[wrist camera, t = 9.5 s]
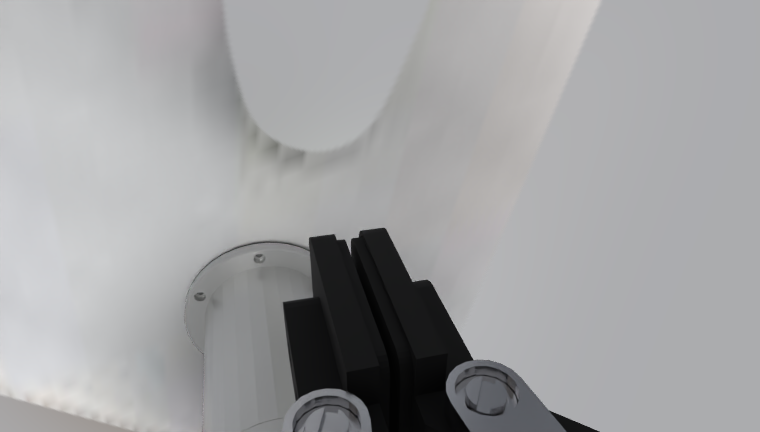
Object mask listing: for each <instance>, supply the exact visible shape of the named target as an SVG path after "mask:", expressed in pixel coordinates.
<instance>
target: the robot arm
mask: <svg viewBox="0 0 760 432" xmlns="http://www.w3.org/2000/svg"><path fill="white" fill-rule="evenodd" d="M309 248H310V251H307V250H305V249H303V248H300V247H297V246H293V245H288V244H282V243H260V244H252V245H248V246H244V247H240V248H237V249H235V250H232V251H230V252H228V253H225V254H223V255H222V256H220V257H219V258H217V259H215V260H214V261H212V262H211V263H210V264H209V265H207V266H206V267H205V268H204V269H203V270H202V271H201V272H200V273H199V275H198V276H197V277H196V279H195V280H194V282H193V283H192V285H191V287H190V289H189V292H188V294H187V297H186V304H185V320H184V321H185V325H186V330H187V333H188V335H189V337H190V339H191V341H192V343H193V344H194V345H195V346H196V347H197V348H198V350H199V351H200V352H201V353H203V354H204V386H203V425H202V432H599V431H597V430H594V429H592V428H590V427H587V426H585V425H582V424H580V423H578V422H575V421H573V420H570V419H568V418H566V417H563V416H561V415H559V414H556V413H554V412H551V411H549V410H548V409H547V408H546V407H545V405H544V404H543V403H542V402H541V401H540V400H539V398H538V397H537V396H536V395H535V394H534V392H533V391H532V390H531V389H530V388H529V387H528V385H527V384H526V383H525V382H524V381H523V379H522V378H521V377H520V376H519V375H518V374H517V373H515V372H514V371H513V370H512V369H510V368H508V367H506V366H504V365H503V364H500V363H497V362H493V361H490V360H473V358H472V357H471V355H470V353H469V351H468V349H467V347H466V346H465V344H464V342H463V340H462V338H461V336H460V335H459V333H458V331H457V329H456V327H455V325H454V324H453V322H452V320H451V318H450V316H449V314H448V313H447V311H446V309H445V307H444V305H443V303H442V302H441V300H440V298H439V296H438V294H437V292H436V291H435V289H434V287H433V285H432V284H431V282H430V281H428V280H422V281H415V282H412V280H411V278H410V276H409V274H408V272H407V270H406V268H405V266H404V264H403V262H402V260H401V258H400V256H399V254H398V252H397V250H396V248H395V246H394V244H393V242H392V240H391V238H390V236H389V234H388V232H387V230H386V229H385V228H378V229H371V230H363V231H360V233H359V238H352V239H351V254H350V252H349V249H348V246H347V244H346V241H345V240H336V237H335V235H334V234H333V235H325V236H317V237H310V238H309Z"/></svg>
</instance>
